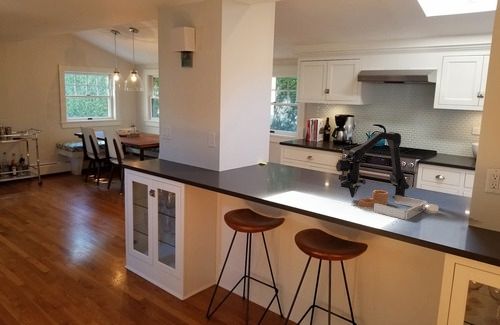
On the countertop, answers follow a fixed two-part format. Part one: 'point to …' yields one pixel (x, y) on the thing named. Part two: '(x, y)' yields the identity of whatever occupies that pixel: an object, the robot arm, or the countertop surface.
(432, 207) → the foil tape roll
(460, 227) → the countertop surface
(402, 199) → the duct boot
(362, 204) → the bracket
